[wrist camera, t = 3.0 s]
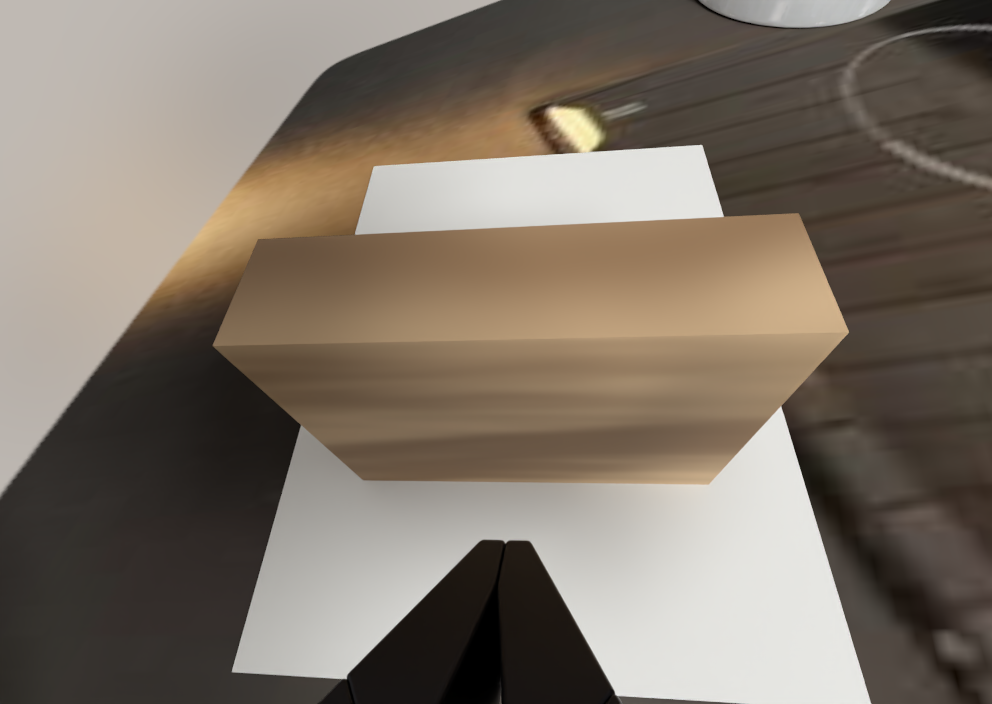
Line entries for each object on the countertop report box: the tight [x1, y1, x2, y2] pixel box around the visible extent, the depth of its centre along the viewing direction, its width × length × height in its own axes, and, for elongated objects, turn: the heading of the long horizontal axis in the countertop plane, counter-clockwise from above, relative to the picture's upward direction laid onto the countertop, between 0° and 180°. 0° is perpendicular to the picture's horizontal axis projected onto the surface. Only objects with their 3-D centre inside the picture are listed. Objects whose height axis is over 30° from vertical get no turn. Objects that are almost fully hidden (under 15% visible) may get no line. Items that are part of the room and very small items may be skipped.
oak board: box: [213, 213, 849, 485], centre depth 14 cm, size 3×12×9 cm, turn 87°
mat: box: [232, 145, 871, 704], centre depth 20 cm, size 24×18×1 cm
